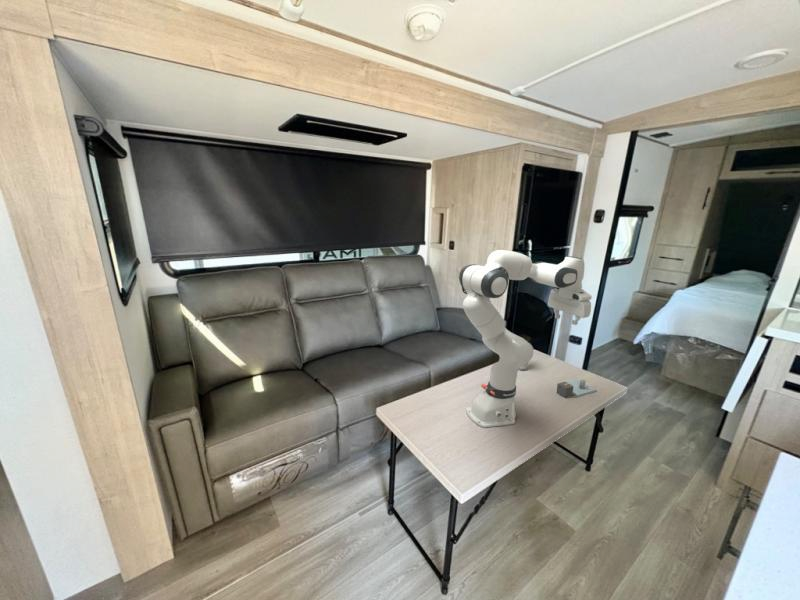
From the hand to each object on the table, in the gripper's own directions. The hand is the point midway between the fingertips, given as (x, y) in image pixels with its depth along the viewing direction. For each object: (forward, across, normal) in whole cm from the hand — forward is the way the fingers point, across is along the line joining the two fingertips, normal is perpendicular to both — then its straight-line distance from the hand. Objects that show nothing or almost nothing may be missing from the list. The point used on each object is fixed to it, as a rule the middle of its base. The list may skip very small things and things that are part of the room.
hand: (565, 321), depth 145 cm
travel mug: (+40, -30, +6) cm, 50 cm away
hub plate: (+40, -2, +17) cm, 44 cm away
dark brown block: (+40, 0, +6) cm, 40 cm away
